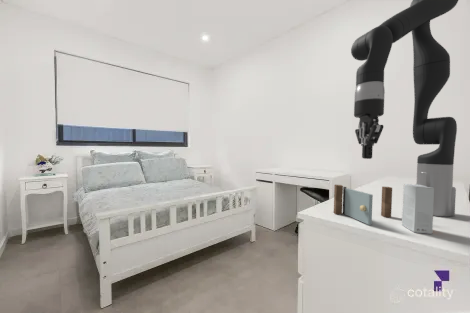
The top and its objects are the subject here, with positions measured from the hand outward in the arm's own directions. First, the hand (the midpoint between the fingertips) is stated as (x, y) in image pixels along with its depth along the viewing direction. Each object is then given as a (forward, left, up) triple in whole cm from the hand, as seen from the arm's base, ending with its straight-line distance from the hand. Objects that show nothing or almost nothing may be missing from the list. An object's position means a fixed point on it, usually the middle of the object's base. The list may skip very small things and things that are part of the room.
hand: (366, 158), depth 64 cm
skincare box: (-11, +5, -19) cm, 23 cm away
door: (+2, -1, -19) cm, 19 cm away
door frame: (-2, -7, -19) cm, 20 cm away
